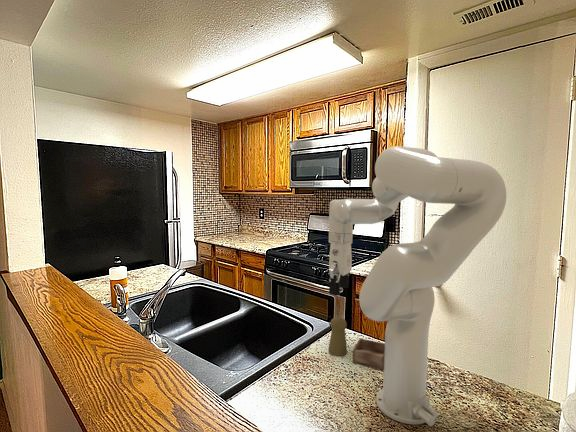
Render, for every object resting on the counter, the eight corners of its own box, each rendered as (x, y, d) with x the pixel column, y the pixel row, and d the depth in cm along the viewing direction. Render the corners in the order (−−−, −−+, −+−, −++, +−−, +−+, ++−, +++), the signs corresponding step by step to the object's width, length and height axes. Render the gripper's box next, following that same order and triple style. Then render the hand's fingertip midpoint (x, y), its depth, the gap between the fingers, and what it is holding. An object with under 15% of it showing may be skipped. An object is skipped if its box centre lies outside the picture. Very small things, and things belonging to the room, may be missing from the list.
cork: (347, 357, 97) (348, 323, 96) (327, 355, 98) (328, 321, 98) (347, 348, 103) (348, 316, 102) (329, 346, 104) (329, 314, 103)
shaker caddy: (388, 356, 98) (388, 344, 98) (384, 370, 90) (384, 357, 90) (359, 350, 102) (359, 338, 102) (352, 362, 94) (353, 349, 93)
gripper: (344, 241, 90) (342, 300, 90) (358, 236, 105) (357, 286, 106) (319, 240, 93) (318, 296, 94) (337, 235, 108) (336, 283, 109)
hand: (339, 290), depth 100 cm, fingers open, 9 cm apart
